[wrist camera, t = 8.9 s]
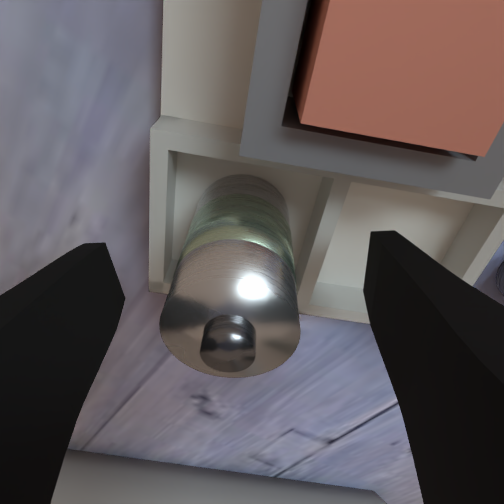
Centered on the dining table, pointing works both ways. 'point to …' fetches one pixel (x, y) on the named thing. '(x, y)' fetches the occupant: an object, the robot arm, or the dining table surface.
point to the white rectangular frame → (302, 160)
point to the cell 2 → (500, 278)
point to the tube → (185, 485)
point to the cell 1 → (234, 283)
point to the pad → (405, 71)
